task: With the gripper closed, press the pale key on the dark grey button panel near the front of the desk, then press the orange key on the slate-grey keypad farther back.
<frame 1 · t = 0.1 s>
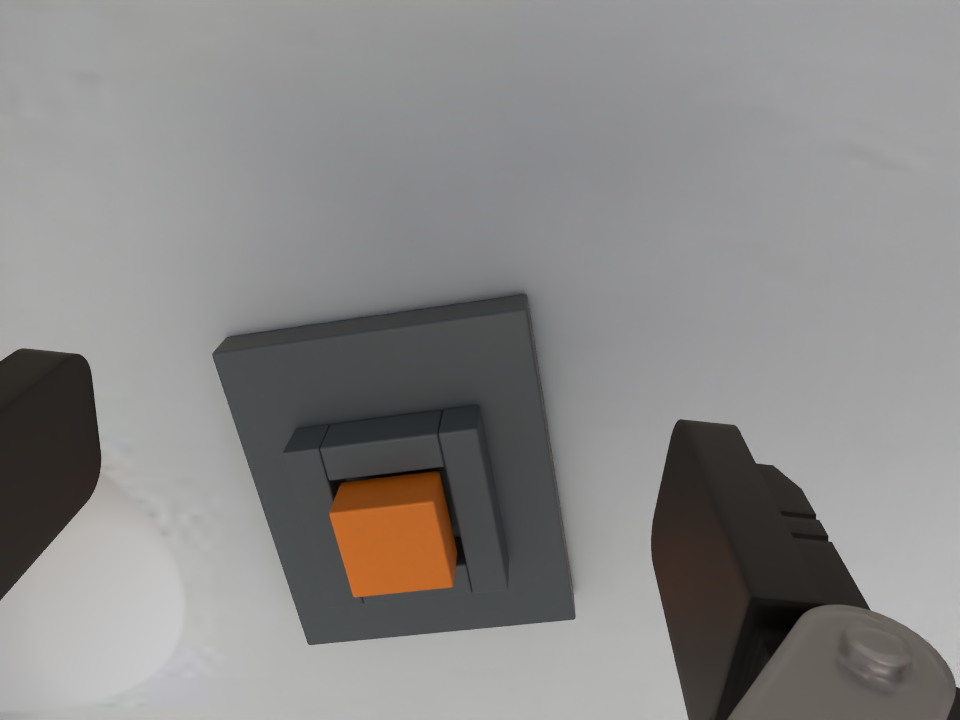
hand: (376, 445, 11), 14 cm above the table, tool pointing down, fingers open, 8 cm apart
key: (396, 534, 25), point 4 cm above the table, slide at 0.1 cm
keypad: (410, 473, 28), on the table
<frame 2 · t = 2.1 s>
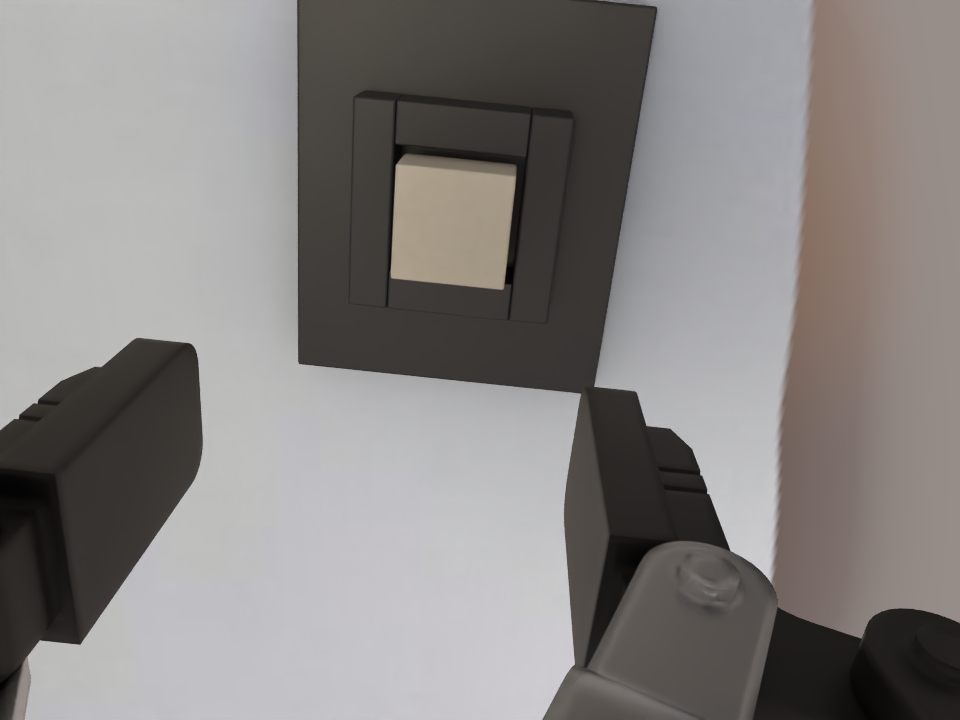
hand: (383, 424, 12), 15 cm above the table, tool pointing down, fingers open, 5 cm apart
dark grey button panel: (462, 194, 26), on the table
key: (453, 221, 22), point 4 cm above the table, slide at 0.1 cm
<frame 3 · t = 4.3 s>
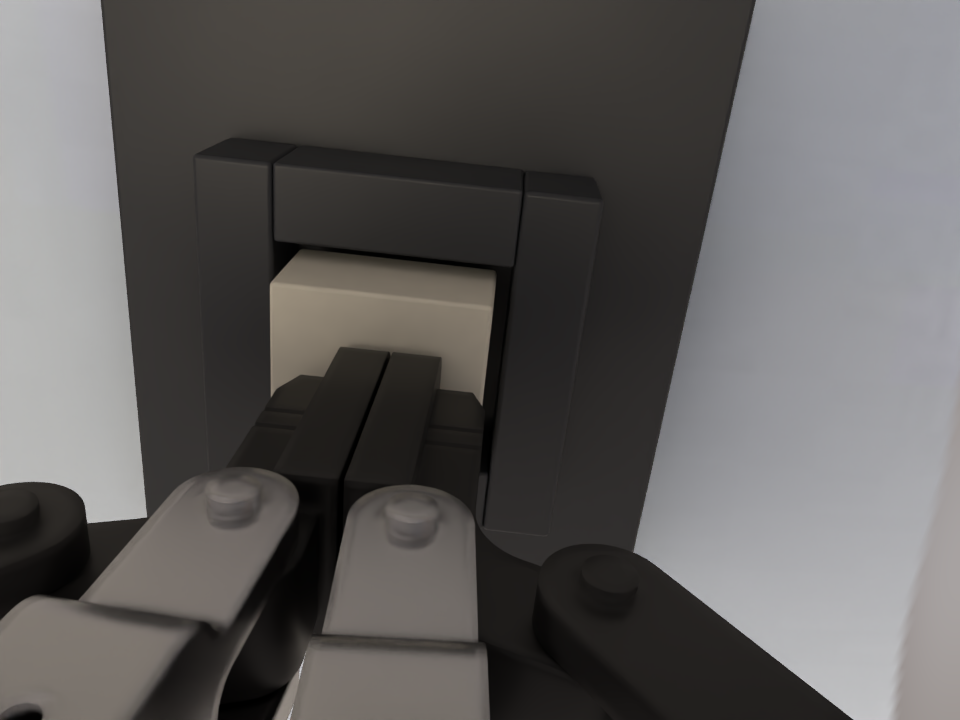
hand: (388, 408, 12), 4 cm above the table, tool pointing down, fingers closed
dark grey button panel: (411, 301, 16), on the table
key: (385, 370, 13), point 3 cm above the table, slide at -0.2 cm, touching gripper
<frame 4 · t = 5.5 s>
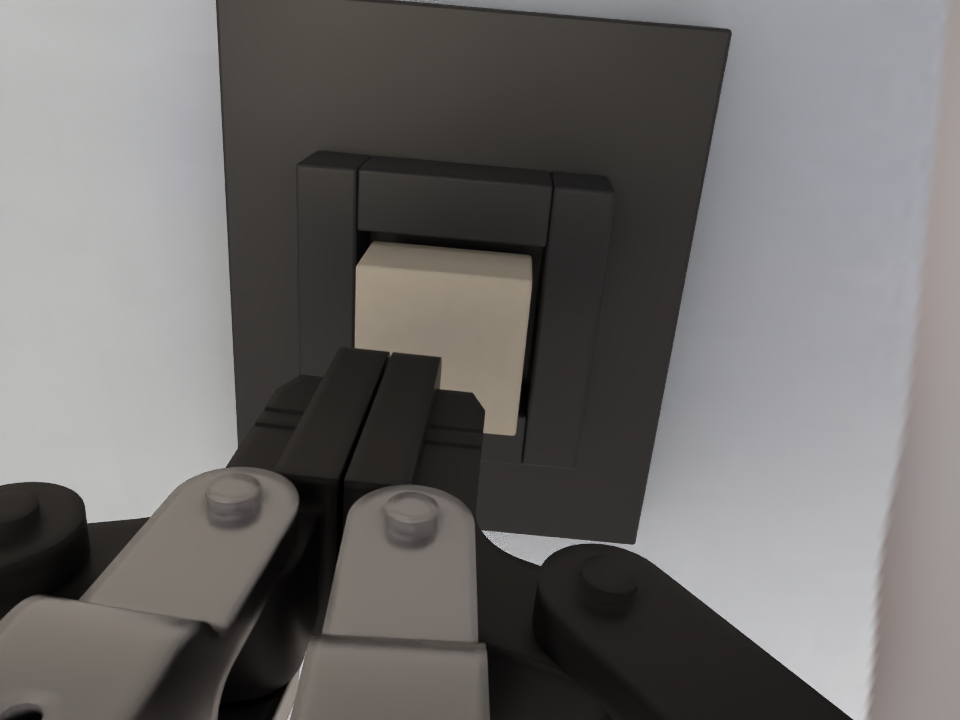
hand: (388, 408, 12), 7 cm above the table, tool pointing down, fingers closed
dark grey button panel: (457, 282, 19), on the table
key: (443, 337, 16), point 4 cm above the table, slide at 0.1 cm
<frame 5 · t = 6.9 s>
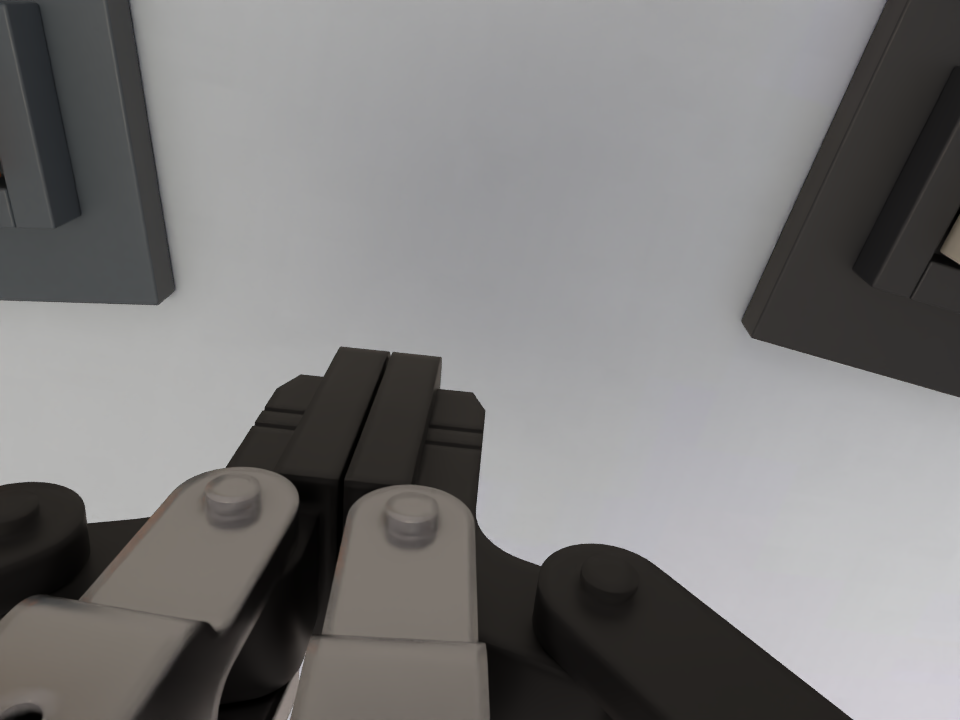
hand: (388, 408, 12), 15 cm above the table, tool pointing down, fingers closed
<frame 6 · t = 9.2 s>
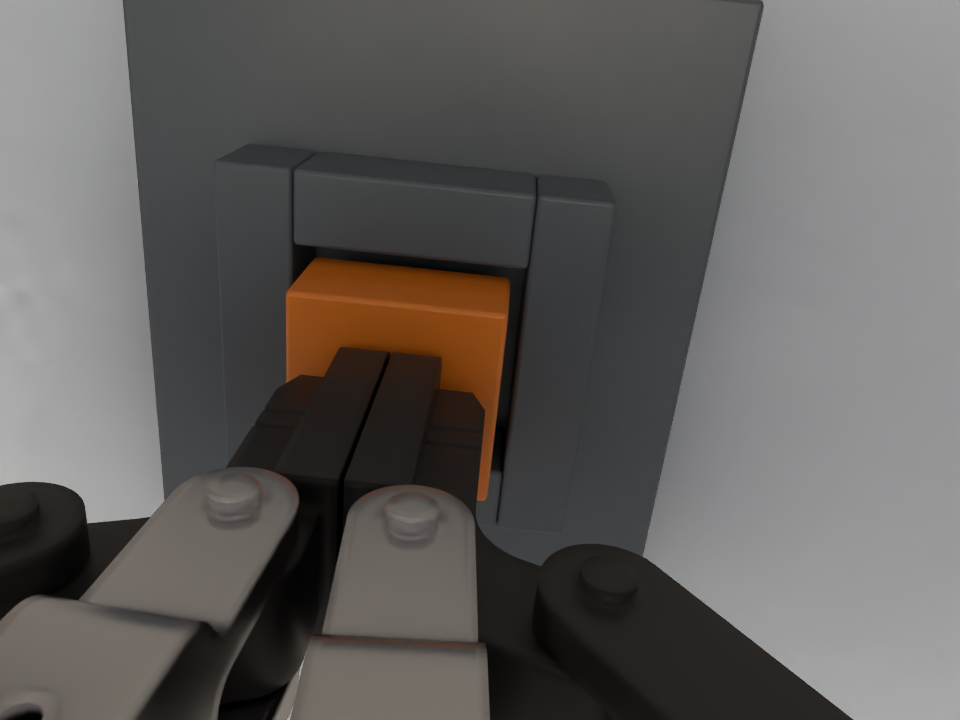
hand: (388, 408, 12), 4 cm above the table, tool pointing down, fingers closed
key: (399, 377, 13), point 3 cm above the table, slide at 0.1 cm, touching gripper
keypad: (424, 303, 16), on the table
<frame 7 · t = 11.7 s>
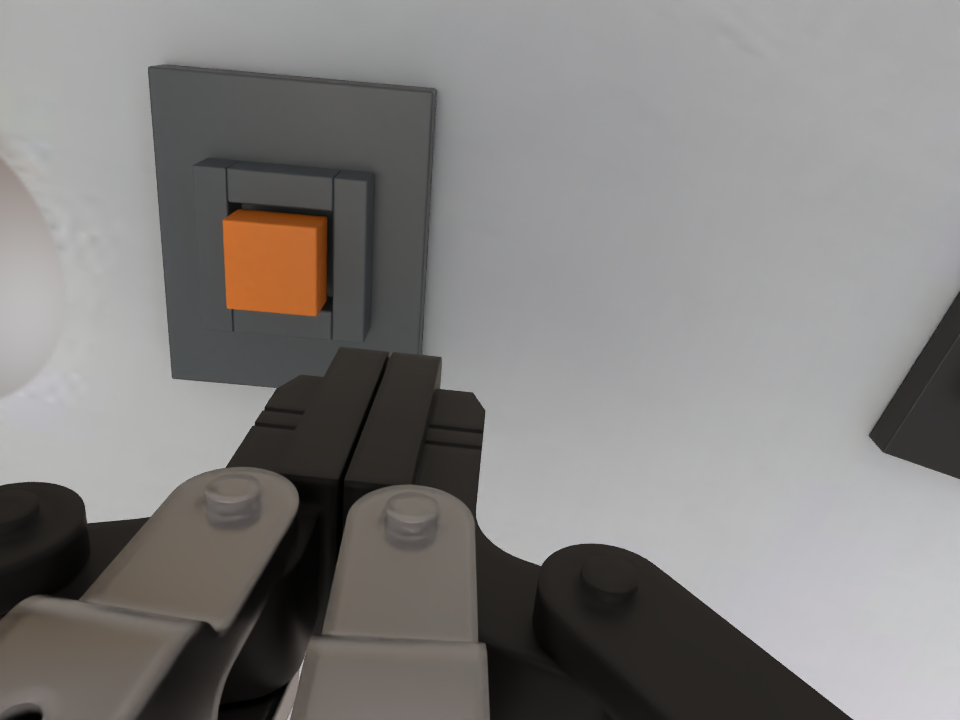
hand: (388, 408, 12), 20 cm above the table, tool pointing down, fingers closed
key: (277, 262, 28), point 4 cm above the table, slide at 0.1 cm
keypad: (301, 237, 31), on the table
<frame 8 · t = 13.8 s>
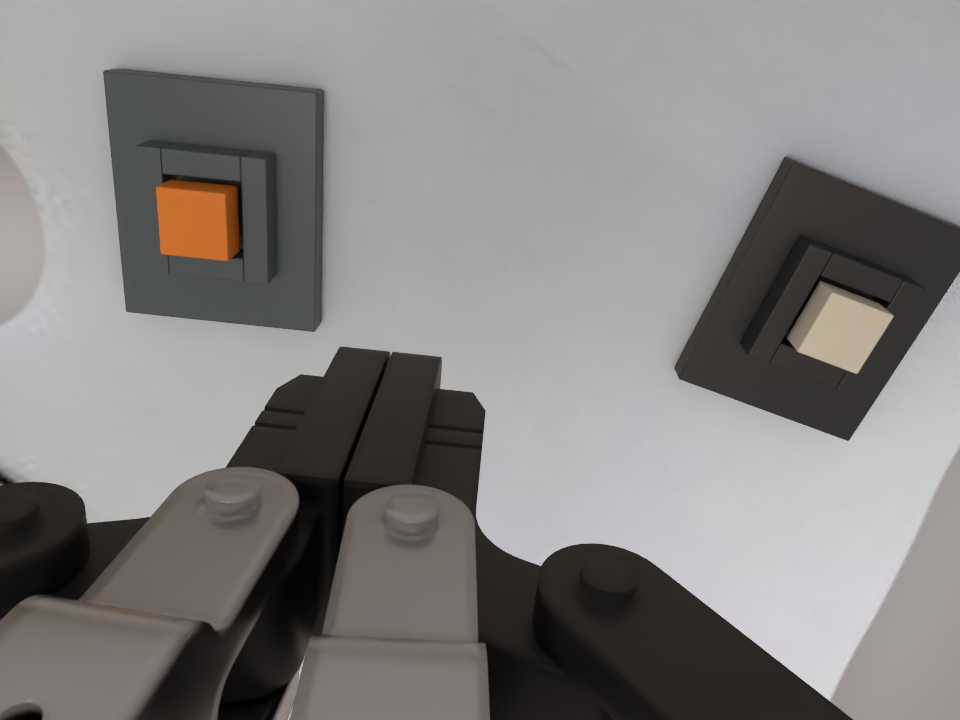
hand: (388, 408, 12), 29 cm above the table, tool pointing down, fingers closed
dark grey button panel: (814, 302, 41), on the table
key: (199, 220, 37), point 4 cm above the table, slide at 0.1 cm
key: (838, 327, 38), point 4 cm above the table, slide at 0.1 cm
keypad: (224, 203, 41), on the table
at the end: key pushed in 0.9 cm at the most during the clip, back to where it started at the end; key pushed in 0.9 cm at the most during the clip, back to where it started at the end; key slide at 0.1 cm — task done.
